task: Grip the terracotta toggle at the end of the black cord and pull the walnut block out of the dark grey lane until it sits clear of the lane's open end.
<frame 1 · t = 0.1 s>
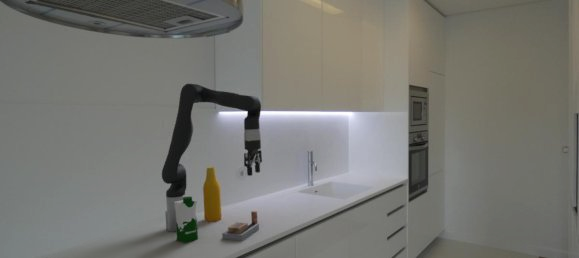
hand: (253, 173, 166), 29 cm above the worktop, tool pointing down, fingers open, 8 cm apart
walnut block: (238, 235, 168), on the worktop
milk carton: (187, 239, 166), on the worktop
lane: (242, 233, 172), on the worktop
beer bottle: (213, 220, 197), on the worktop
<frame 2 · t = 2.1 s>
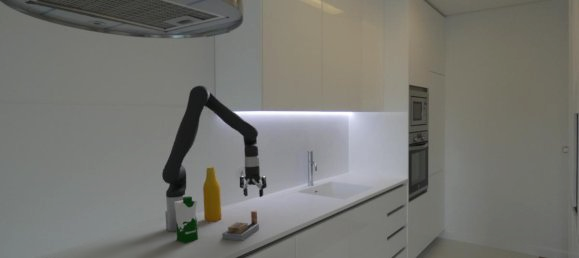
hand: (253, 196, 184), 15 cm above the worktop, tool pointing down, fingers open, 8 cm apart
nothing on the worktop moved.
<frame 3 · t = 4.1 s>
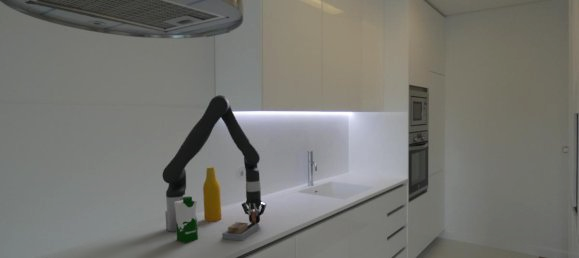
hand: (254, 222, 184), 1 cm above the worktop, tool pointing down, fingers closed on walnut block, 3 cm apart
walnut block: (238, 235, 168), on the worktop, touching gripper
everything else where it was.
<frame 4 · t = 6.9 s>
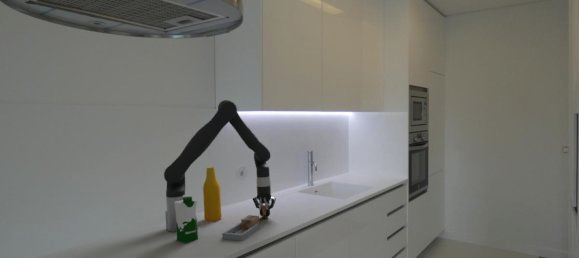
hand: (265, 215, 196), 1 cm above the worktop, tool pointing down, fingers closed on walnut block, 3 cm apart
walnut block: (250, 227, 180), on the worktop, touching gripper
everything else where it was.
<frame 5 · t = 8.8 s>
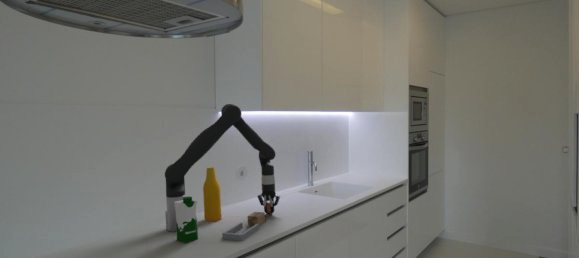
hand: (269, 212, 202), 1 cm above the worktop, tool pointing down, fingers closed on walnut block, 3 cm apart
walnut block: (256, 223, 186), on the worktop, touching gripper
everything else where it was.
when the fingers open (1 cm above the worktop, at t = 9.5 s): walnut block stays where it is, on the worktop.
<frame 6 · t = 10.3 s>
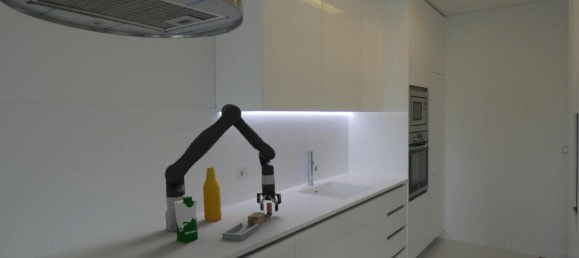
hand: (269, 210, 202), 2 cm above the worktop, tool pointing down, fingers open, 8 cm apart
walnut block: (256, 223, 186), on the worktop
everything else where it was.
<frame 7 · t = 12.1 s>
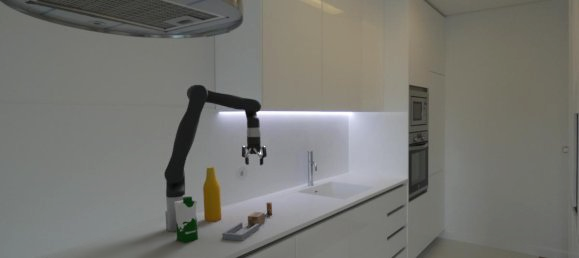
hand: (254, 164, 199), 29 cm above the worktop, tool pointing down, fingers open, 8 cm apart
nothing on the worktop moved.
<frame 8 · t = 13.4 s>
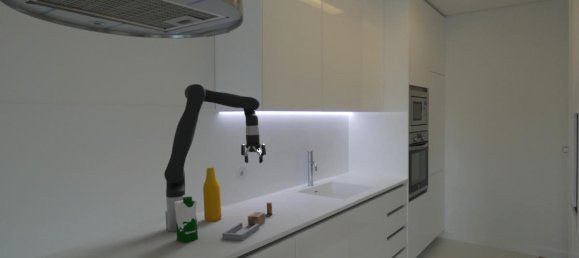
hand: (253, 162, 199), 30 cm above the worktop, tool pointing down, fingers open, 8 cm apart
nothing on the worktop moved.
at the end: walnut block inside the target area (1.9 cm from its centre), on the worktop; walnut block tilted 0°; the gripper is holding nothing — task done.
